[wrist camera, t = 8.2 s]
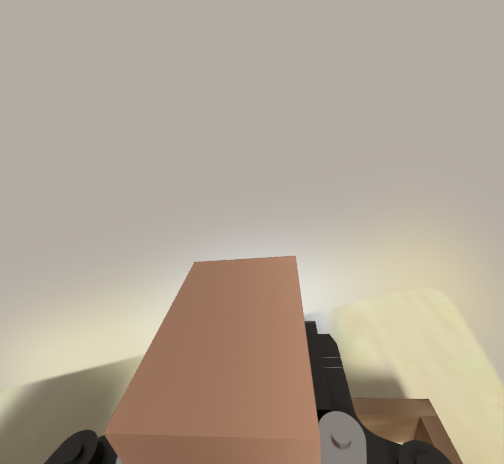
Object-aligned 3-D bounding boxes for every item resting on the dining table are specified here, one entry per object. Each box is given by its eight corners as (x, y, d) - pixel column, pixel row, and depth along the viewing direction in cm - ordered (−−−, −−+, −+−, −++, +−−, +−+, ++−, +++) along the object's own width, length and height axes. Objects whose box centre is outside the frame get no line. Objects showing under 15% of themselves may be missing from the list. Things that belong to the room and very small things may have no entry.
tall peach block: (212, 601, 9) (103, 433, 5) (235, 422, 15) (194, 261, 10) (323, 614, 9) (320, 439, 4) (305, 423, 14) (295, 255, 10)
